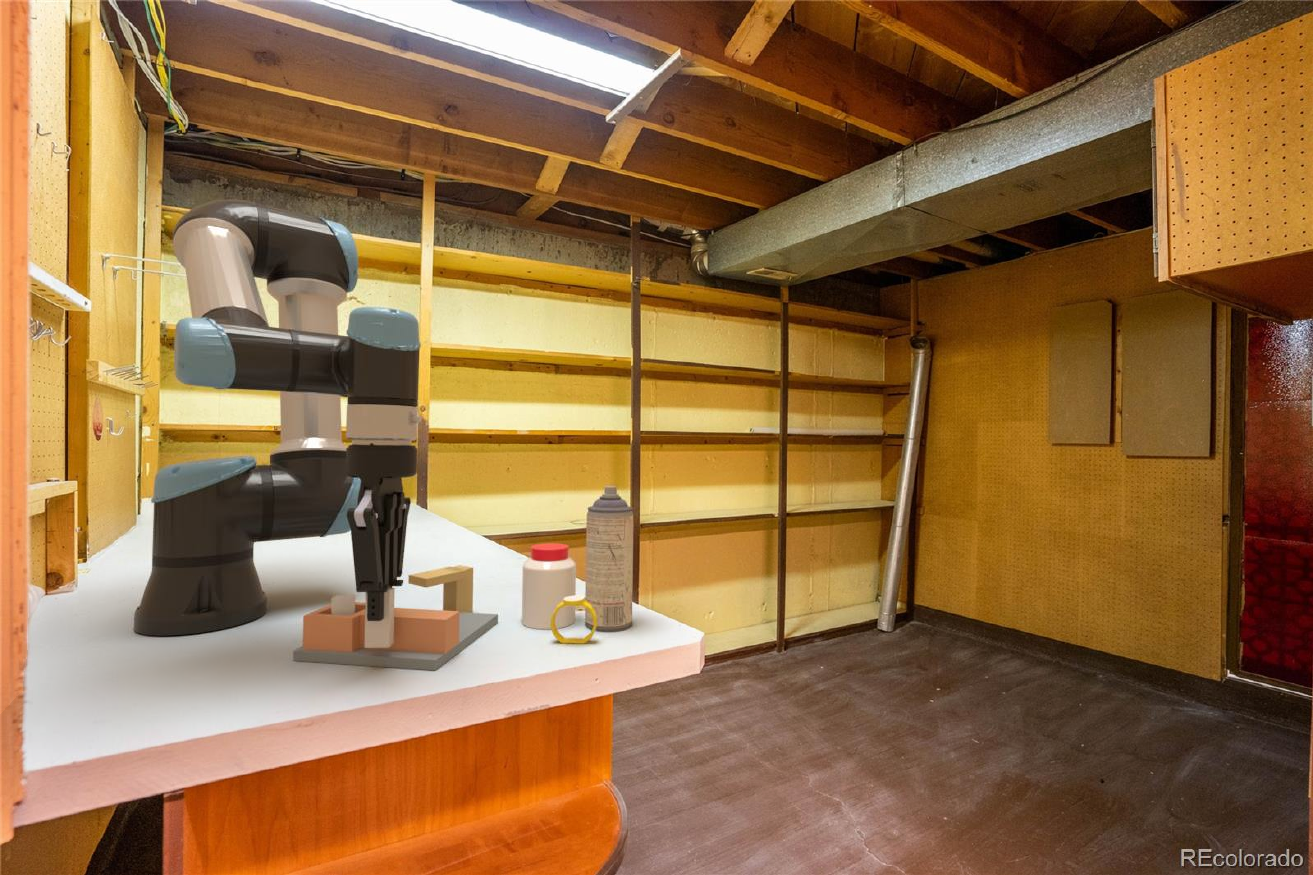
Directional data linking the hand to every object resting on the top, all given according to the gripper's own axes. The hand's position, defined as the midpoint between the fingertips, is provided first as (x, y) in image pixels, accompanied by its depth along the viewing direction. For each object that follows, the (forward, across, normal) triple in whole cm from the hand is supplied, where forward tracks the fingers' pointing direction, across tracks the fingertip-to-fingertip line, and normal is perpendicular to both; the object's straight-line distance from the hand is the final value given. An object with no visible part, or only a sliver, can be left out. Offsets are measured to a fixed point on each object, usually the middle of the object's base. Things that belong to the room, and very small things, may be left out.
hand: (379, 645), depth 68 cm
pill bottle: (+3, +17, -18) cm, 25 cm away
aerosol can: (+3, +15, -27) cm, 31 cm away
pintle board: (+3, +11, 0) cm, 11 cm away
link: (+1, +4, +1) cm, 4 cm away
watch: (+3, +8, -22) cm, 23 cm away
